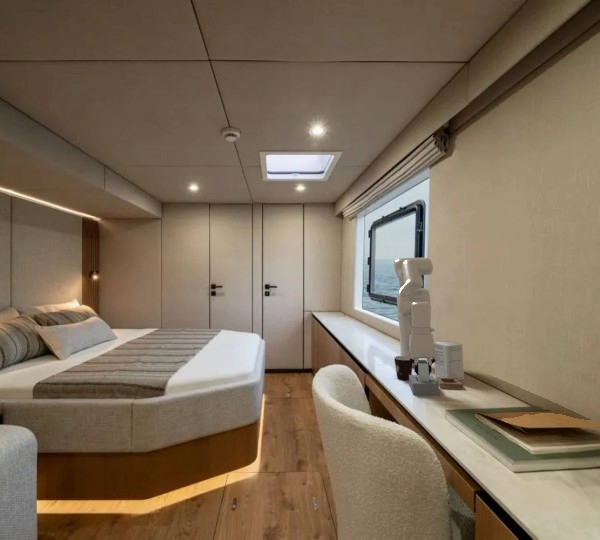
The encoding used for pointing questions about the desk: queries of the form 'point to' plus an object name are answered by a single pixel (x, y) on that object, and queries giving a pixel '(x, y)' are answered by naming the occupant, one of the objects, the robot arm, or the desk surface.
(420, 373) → the plug
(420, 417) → the desk surface
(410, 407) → the desk surface
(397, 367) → the coffee mug
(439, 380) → the brown wooden square base
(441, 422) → the desk surface
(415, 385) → the port
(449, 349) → the supplement box
